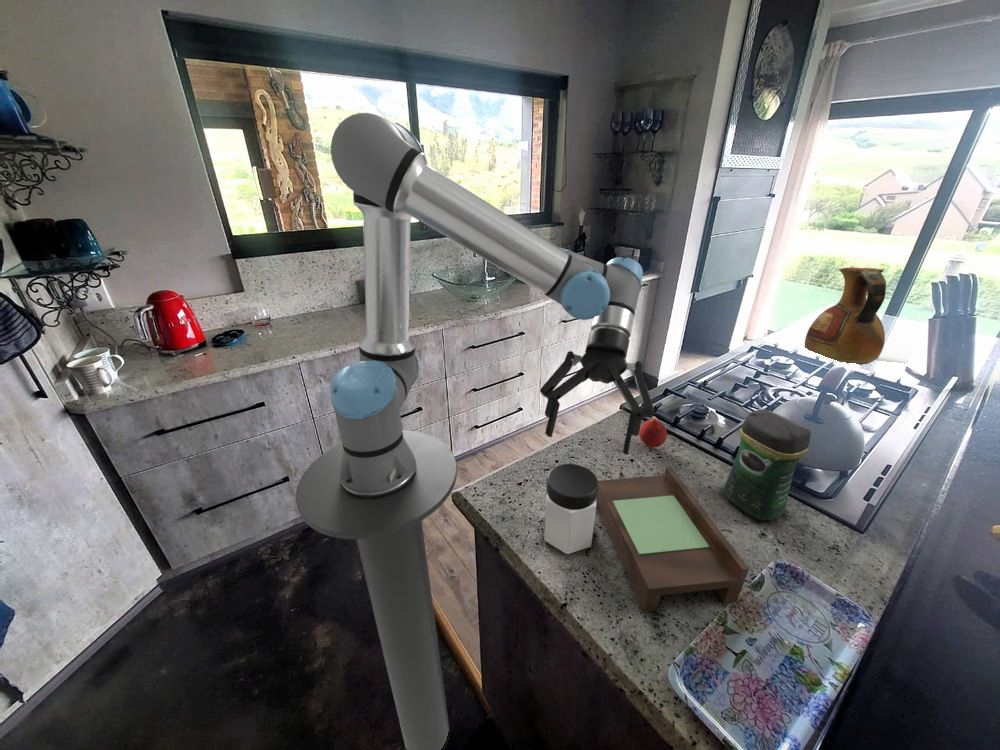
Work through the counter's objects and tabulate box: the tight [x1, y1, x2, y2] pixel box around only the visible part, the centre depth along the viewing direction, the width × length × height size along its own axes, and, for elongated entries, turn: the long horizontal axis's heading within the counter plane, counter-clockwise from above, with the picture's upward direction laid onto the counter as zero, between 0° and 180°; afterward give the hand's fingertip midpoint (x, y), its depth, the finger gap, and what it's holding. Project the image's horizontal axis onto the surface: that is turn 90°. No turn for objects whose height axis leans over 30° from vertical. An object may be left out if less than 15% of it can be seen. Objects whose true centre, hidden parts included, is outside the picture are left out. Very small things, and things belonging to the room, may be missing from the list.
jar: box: [543, 463, 599, 555], centre depth 67 cm, size 9×8×12 cm
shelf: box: [596, 466, 750, 613], centre depth 66 cm, size 22×14×7 cm, turn 6°
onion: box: [638, 416, 668, 449], centre depth 90 cm, size 6×6×8 cm
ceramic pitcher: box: [804, 266, 887, 366], centre depth 127 cm, size 20×20×30 cm
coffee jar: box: [722, 408, 812, 522], centre depth 71 cm, size 10×8×19 cm
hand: (585, 444), depth 71 cm, fingers open, 13 cm apart
